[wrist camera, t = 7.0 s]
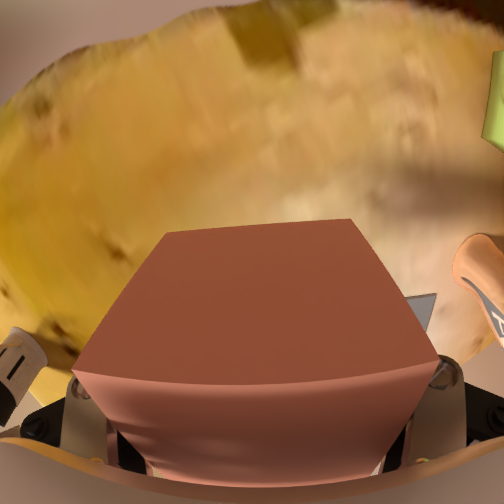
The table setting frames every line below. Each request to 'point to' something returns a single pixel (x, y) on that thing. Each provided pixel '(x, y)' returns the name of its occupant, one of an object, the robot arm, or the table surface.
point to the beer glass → (483, 278)
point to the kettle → (495, 104)
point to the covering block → (260, 356)
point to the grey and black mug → (18, 369)
